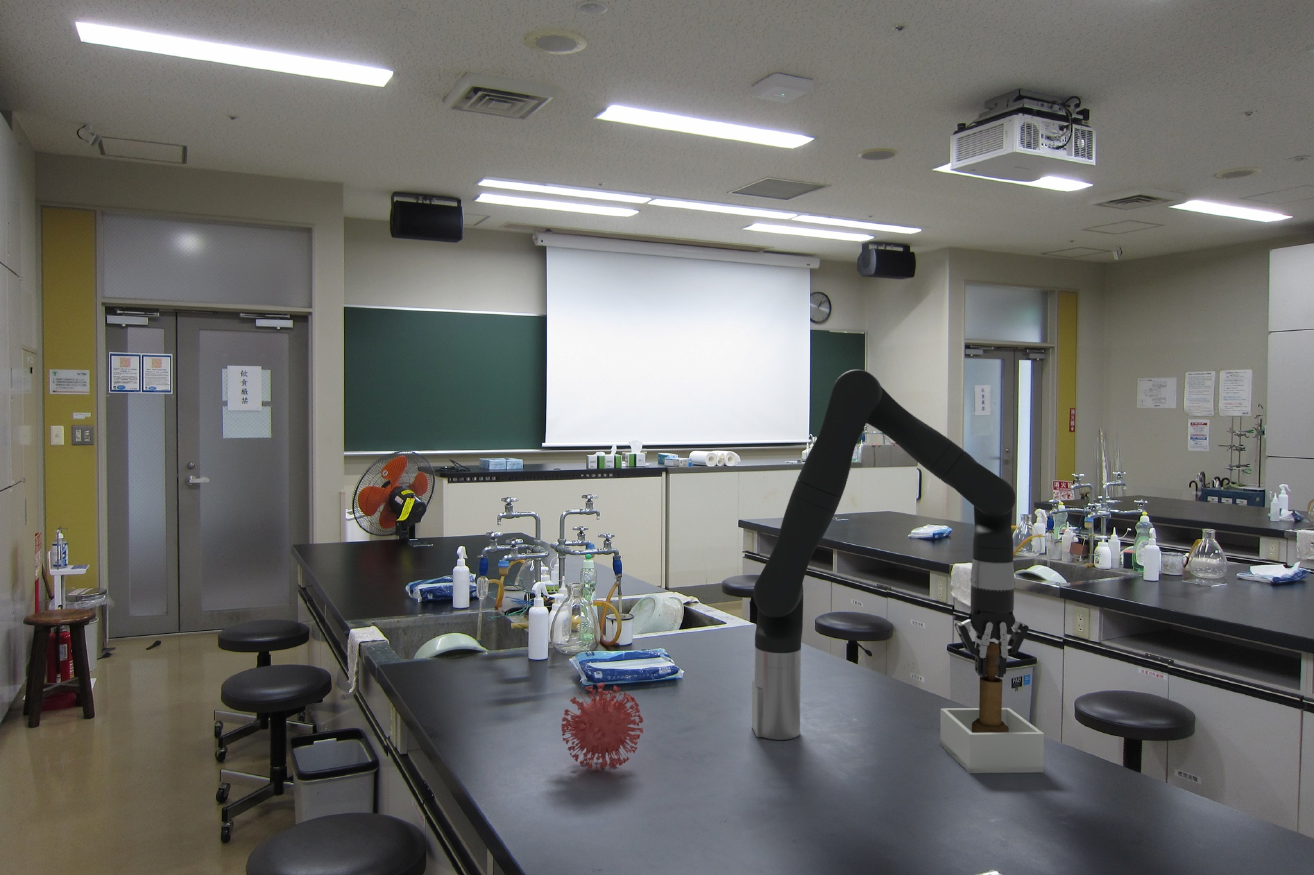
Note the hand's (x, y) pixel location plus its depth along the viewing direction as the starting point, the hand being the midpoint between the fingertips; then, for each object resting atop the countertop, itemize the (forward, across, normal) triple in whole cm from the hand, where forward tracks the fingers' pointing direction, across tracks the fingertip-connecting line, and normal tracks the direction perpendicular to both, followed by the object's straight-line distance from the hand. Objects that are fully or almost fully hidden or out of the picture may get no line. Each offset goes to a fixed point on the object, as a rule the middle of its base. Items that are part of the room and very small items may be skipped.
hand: (990, 676), depth 159 cm
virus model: (+16, -72, -2) cm, 74 cm away
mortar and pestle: (+12, 0, 0) cm, 12 cm away
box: (+15, 0, 0) cm, 15 cm away
